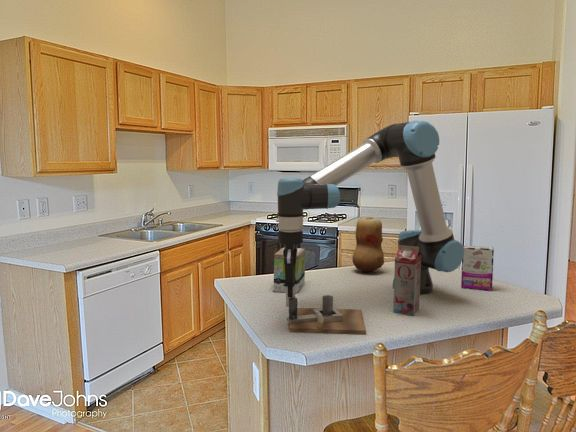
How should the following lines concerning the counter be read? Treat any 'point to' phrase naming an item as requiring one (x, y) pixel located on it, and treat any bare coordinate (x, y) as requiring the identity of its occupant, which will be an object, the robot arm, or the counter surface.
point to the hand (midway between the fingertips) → (290, 306)
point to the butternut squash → (368, 245)
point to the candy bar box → (477, 268)
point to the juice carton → (407, 280)
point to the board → (349, 325)
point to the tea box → (280, 270)
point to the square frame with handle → (316, 313)
